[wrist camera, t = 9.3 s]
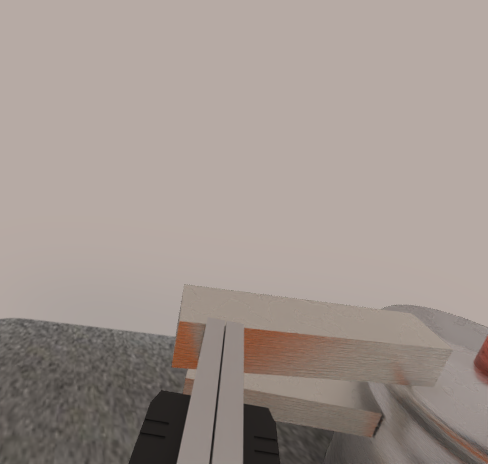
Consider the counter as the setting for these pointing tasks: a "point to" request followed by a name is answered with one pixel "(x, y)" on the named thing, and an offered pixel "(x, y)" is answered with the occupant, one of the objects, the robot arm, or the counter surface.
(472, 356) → the lid
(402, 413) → the cooker pot
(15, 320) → the counter surface
